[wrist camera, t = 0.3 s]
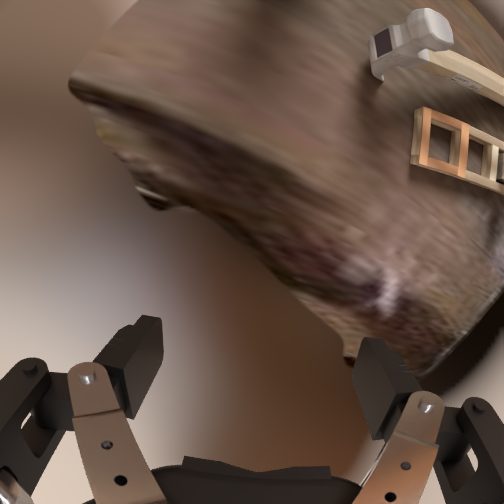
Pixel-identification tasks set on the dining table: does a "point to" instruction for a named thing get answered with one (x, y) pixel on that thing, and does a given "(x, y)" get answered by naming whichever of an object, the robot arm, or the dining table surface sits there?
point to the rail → (456, 149)
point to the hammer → (430, 53)
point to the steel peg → (500, 168)
